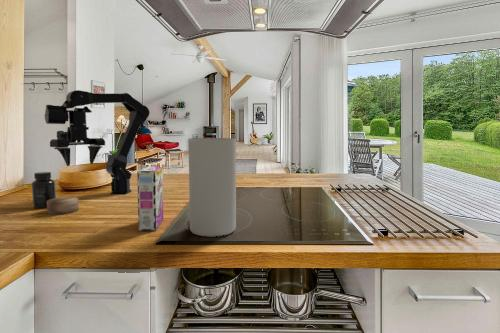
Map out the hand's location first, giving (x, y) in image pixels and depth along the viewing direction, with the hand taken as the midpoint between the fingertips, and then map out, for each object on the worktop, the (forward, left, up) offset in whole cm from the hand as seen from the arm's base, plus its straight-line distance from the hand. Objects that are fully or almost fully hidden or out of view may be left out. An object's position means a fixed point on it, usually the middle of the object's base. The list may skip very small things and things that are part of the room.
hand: (80, 164), depth 122 cm
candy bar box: (-38, +33, -13) cm, 52 cm away
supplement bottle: (+6, +13, -13) cm, 20 cm away
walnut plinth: (-4, +19, -13) cm, 24 cm away
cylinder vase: (-56, +37, -13) cm, 68 cm away
